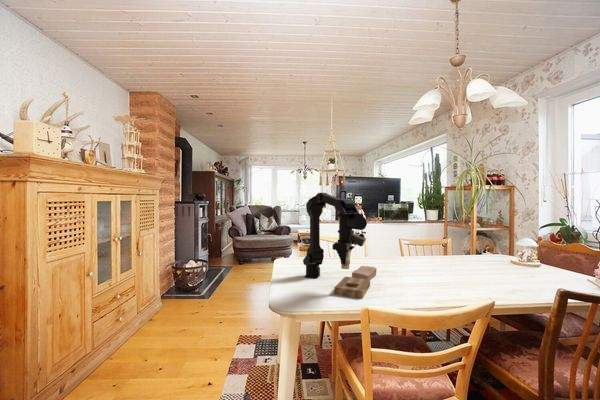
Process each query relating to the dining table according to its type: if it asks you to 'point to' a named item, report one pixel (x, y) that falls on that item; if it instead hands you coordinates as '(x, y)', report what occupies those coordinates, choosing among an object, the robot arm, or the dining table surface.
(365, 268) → the brick
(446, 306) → the dining table surface
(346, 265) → the peg
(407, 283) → the dining table surface
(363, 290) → the seat board
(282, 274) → the dining table surface
